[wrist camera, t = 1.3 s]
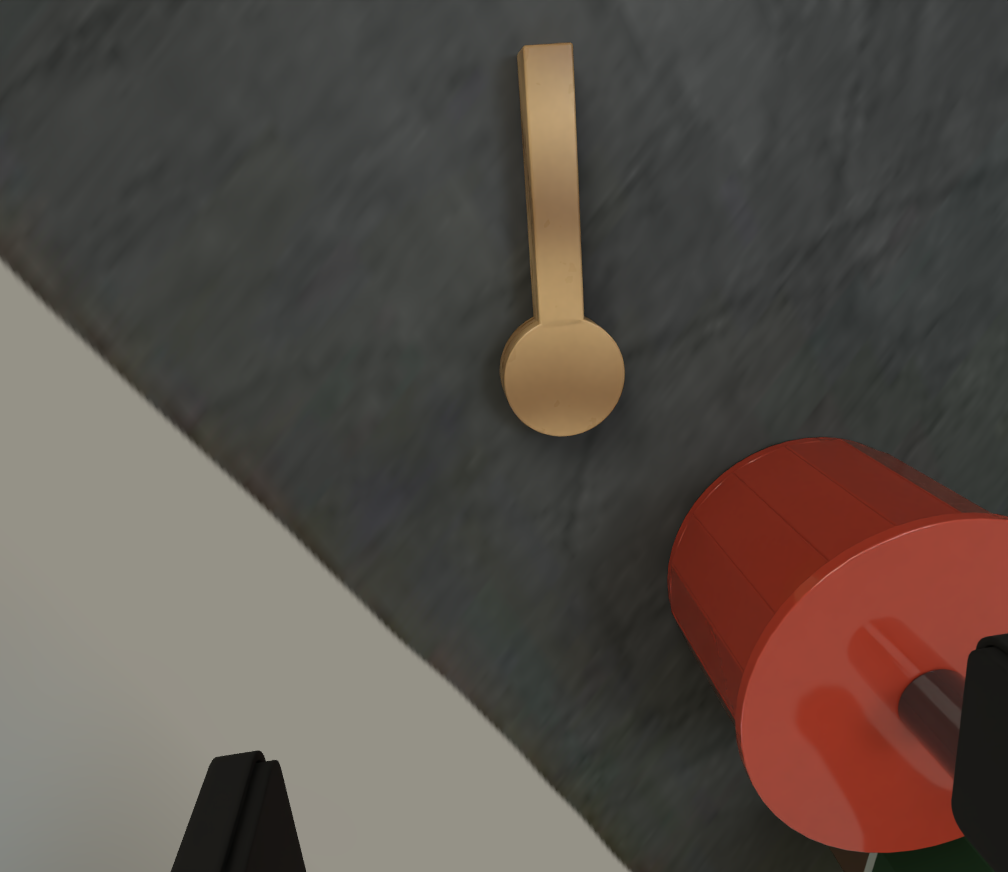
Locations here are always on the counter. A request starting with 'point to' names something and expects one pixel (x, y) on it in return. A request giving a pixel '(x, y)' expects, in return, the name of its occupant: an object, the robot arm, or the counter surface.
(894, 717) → the pot lid
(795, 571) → the pot
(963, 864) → the beer bottle
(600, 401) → the spoon
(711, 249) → the counter surface
